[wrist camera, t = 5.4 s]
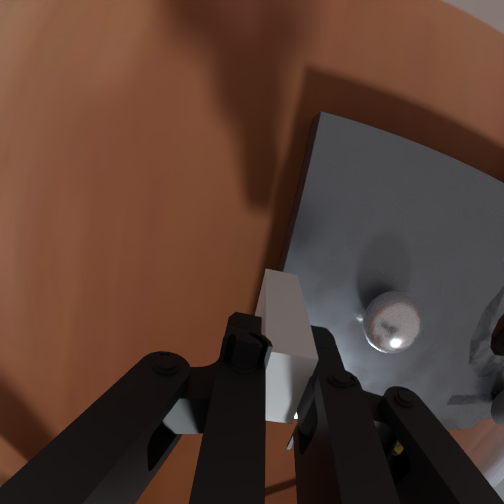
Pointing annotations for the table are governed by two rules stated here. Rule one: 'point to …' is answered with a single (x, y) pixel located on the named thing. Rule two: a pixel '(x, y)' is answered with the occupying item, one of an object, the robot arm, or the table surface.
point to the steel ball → (392, 322)
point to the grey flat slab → (403, 262)
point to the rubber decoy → (498, 408)
